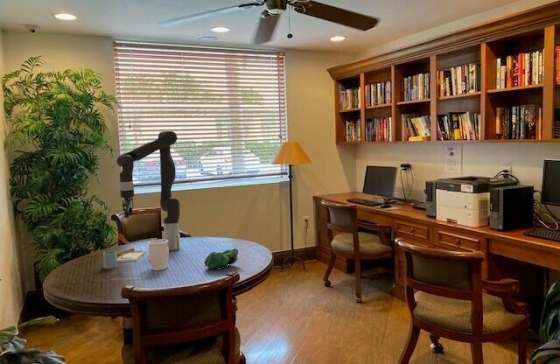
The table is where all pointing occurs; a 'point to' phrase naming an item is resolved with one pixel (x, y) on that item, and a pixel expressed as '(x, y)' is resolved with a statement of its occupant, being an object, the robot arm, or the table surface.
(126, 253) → the pin
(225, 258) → the mineral
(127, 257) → the tray
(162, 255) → the jar
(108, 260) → the cup
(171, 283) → the table surface
